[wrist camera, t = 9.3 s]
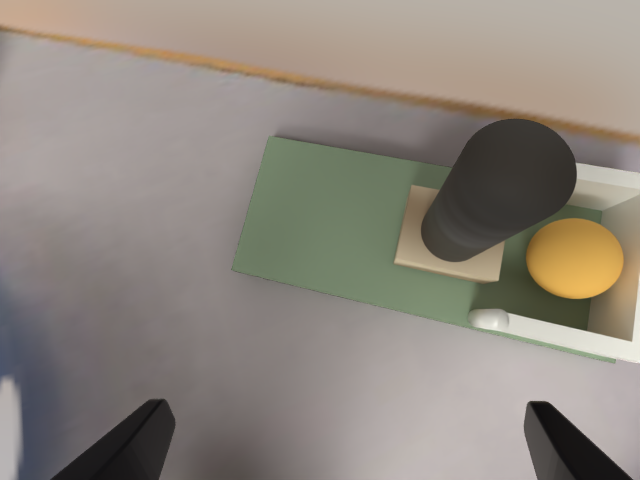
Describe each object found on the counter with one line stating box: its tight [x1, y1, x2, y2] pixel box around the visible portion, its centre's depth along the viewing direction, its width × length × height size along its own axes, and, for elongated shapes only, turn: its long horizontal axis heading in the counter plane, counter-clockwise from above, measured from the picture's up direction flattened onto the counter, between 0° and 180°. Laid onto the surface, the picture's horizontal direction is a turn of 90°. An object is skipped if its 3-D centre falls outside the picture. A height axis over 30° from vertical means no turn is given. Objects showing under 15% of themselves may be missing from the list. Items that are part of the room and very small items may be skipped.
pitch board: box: [231, 136, 616, 363], centre depth 22 cm, size 9×22×1 cm, turn 76°
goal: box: [468, 163, 640, 364], centre depth 19 cm, size 9×7×4 cm
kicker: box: [393, 119, 577, 284], centre depth 16 cm, size 4×5×11 cm
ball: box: [526, 218, 624, 299], centre depth 18 cm, size 4×4×4 cm
